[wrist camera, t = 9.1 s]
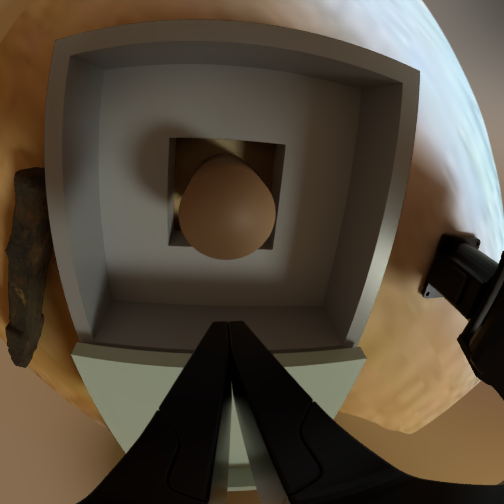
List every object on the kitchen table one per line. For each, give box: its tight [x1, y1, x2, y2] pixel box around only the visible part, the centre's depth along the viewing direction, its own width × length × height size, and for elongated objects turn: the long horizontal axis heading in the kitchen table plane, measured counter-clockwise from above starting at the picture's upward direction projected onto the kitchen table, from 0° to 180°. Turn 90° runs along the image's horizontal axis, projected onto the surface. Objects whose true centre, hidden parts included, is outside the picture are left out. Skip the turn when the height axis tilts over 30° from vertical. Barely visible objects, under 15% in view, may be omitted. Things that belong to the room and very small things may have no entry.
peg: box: [179, 154, 276, 260], centre depth 14 cm, size 4×4×6 cm
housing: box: [44, 19, 420, 354], centre depth 14 cm, size 16×16×6 cm
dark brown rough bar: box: [5, 167, 53, 368], centre depth 16 cm, size 19×4×5 cm, turn 147°
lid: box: [71, 342, 367, 491], centre depth 15 cm, size 16×16×3 cm
